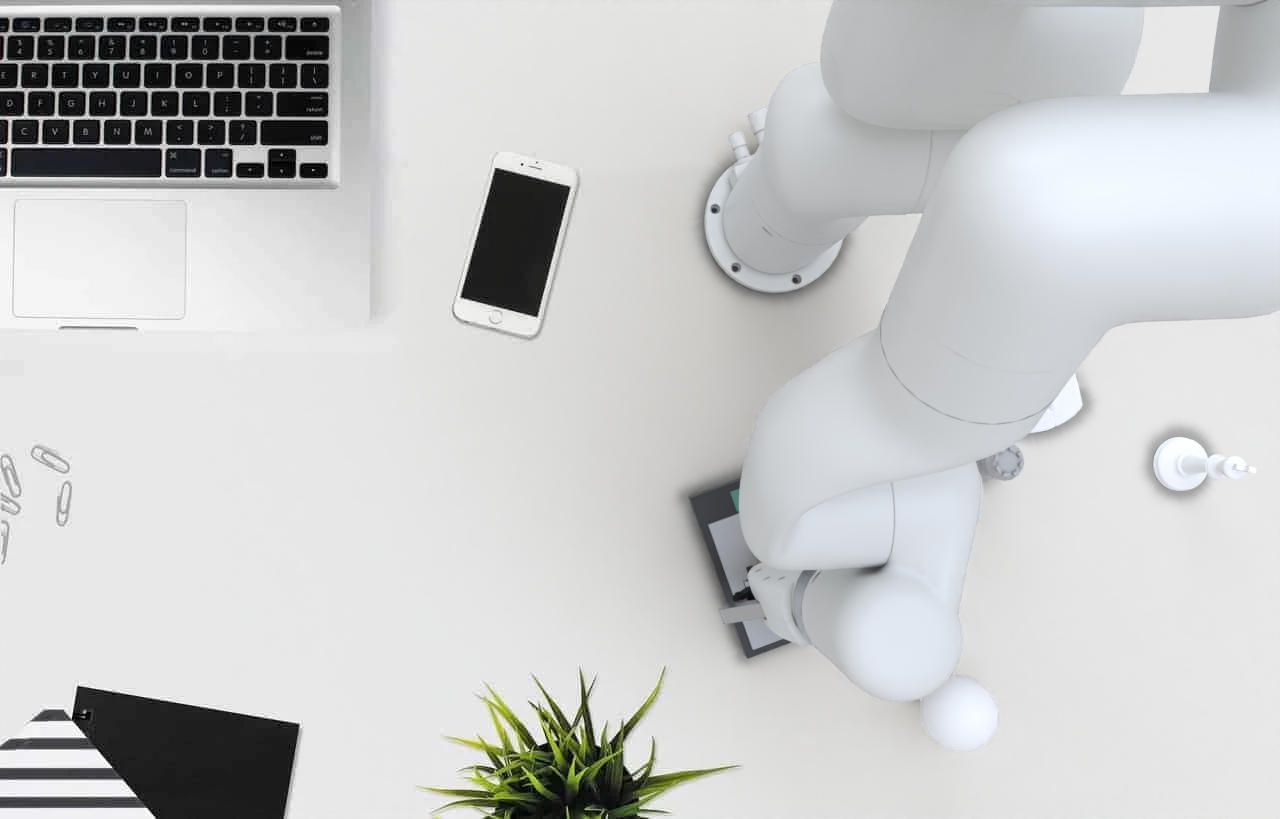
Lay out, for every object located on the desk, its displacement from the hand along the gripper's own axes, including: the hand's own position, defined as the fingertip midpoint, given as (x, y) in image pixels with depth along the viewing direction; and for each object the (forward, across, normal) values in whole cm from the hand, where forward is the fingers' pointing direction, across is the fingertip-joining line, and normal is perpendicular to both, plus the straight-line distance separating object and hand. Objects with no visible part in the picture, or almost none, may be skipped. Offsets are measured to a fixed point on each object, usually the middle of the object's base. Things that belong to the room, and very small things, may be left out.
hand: (795, 568), depth 86 cm
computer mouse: (+3, -27, -9) cm, 29 cm away
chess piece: (+3, -37, +4) cm, 37 cm away
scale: (+3, 0, -1) cm, 4 cm away
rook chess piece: (+3, -19, -3) cm, 20 cm away
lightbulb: (+4, -8, +15) cm, 17 cm away
